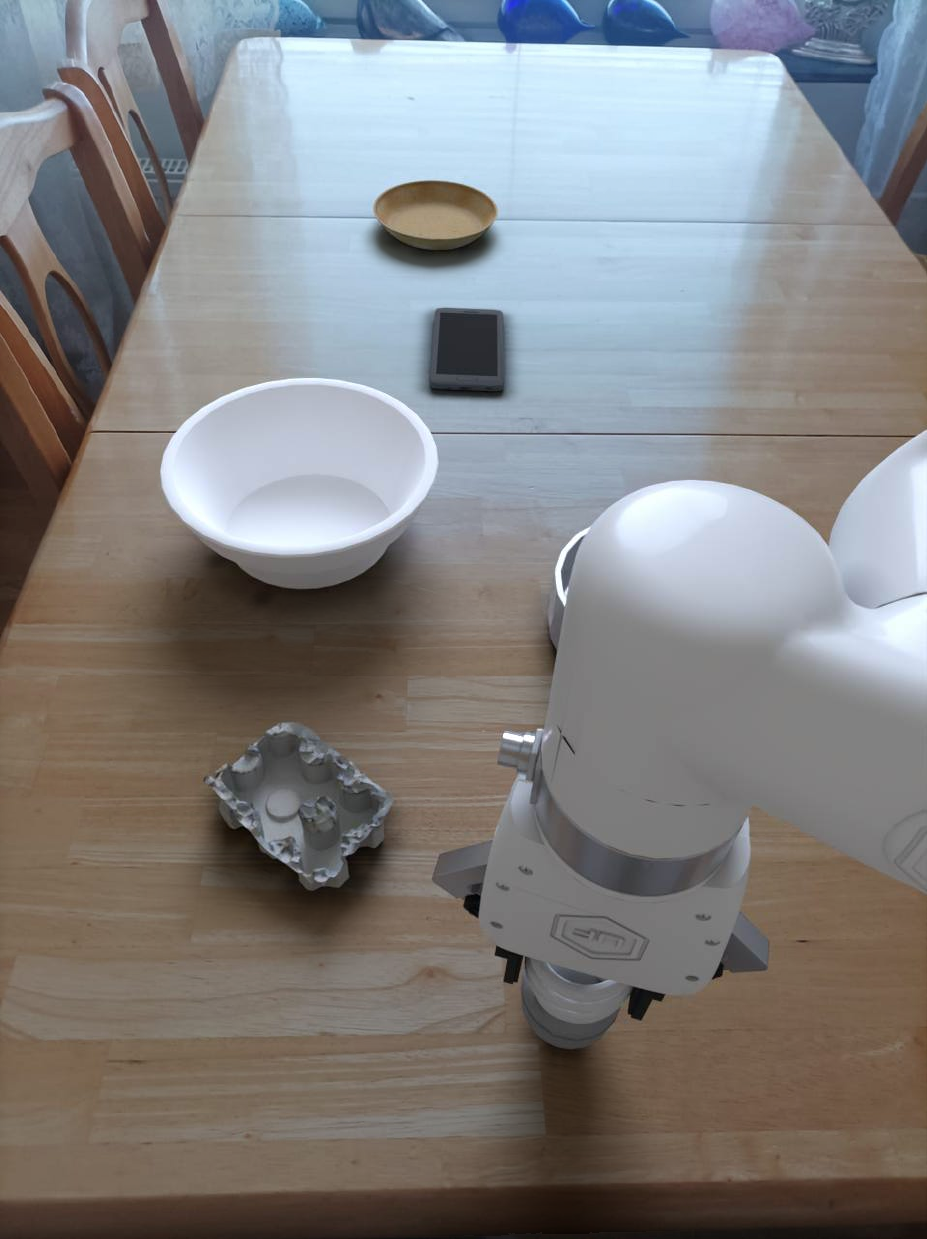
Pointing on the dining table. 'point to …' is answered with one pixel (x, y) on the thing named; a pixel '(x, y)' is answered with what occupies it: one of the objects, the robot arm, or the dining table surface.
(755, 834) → the dining table surface
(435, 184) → the plant saucer
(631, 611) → the robot arm
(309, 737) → the egg carton
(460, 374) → the cell phone
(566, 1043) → the light bulb
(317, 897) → the dining table surface
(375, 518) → the bowl
